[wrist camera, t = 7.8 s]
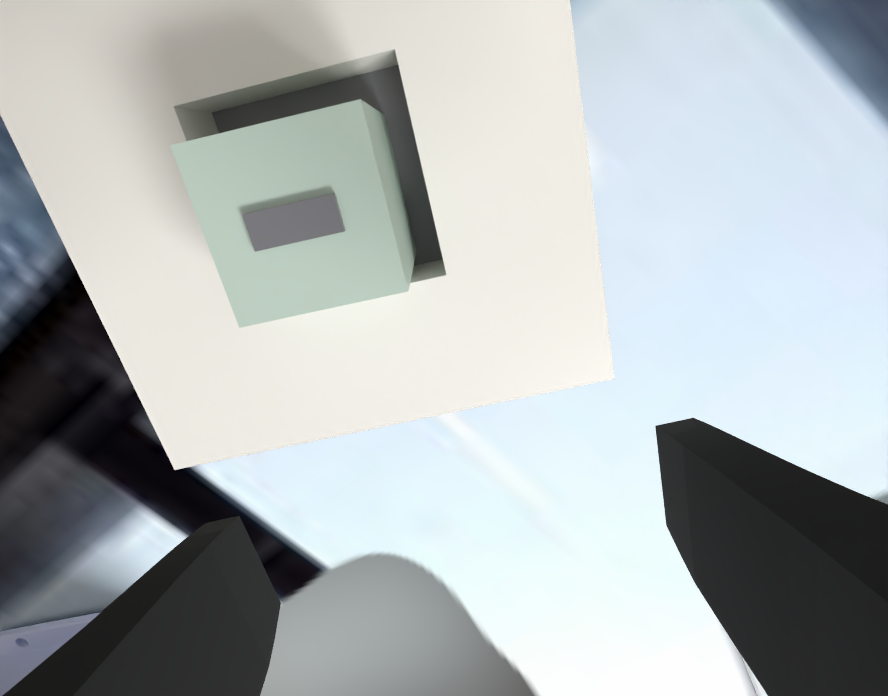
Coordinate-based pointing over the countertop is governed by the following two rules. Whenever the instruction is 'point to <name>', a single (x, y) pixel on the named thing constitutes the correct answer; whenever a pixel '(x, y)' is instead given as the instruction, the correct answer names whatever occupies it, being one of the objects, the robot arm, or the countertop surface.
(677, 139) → the countertop surface
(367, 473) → the countertop surface
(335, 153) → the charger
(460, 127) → the outlet plate
